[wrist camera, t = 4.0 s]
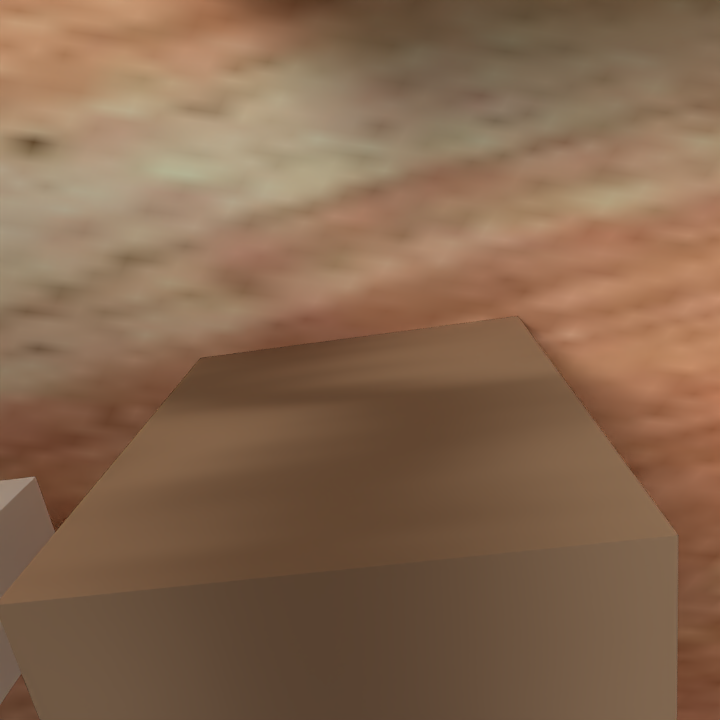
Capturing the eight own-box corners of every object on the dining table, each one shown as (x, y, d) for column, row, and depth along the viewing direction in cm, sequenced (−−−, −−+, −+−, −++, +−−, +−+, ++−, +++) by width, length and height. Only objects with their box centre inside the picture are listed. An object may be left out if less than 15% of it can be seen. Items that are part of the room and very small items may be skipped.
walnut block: (262, 612, 14) (157, 1016, 8) (201, 357, 12) (-6, 604, 6) (537, 585, 14) (674, 992, 7) (517, 315, 12) (678, 535, 5)
